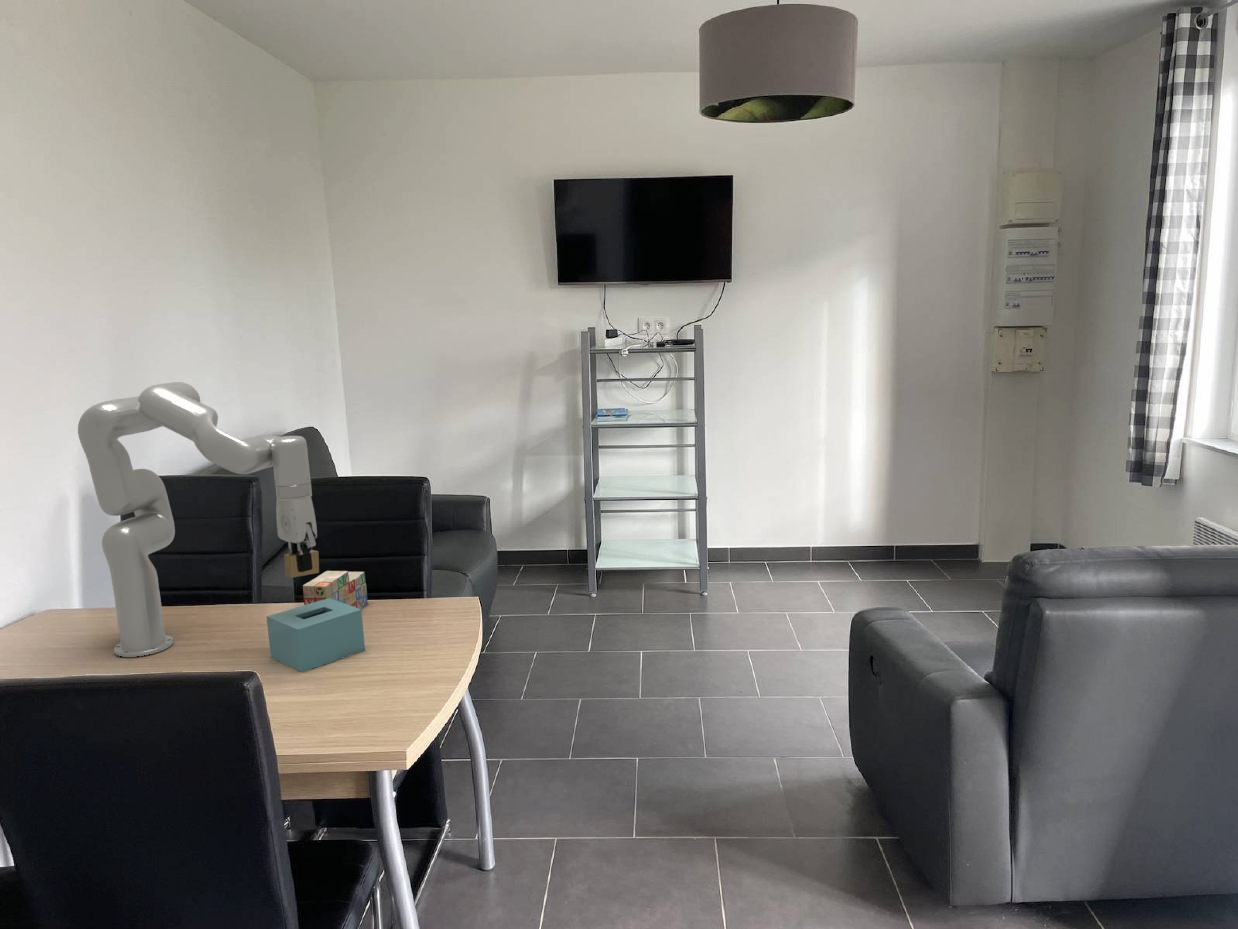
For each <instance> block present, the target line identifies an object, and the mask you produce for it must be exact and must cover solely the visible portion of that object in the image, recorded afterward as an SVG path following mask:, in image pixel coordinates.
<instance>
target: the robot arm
mask: <svg viewBox="0 0 1238 929" xmlns="http://www.w3.org/2000/svg"><path fill="white" fill-rule="evenodd" d="M218 421H219V416H218V413H217V411H216V410H215V409H214V408H212V407H210V406H208V405H206V404H204V403H202V402H201V396H200V394H199V392H198V391H197V390H196V389H195V388H194V387H193V385H190V384H189V383H187V382H183V381H174V382H166V383H158V384H154V385H151V386H148V387H147V388H145V389H144V390H143V391H141V393H140V394H139V396H138V395H137V396H132V397H131V396H130V397H125V398H118V399H112V400H110V399H109V400H105V401H102V402H98V403H96V404H93V405H92V406H91V407H89V408H88V409H86V410H85V411H84V412H83V413H82V415H81V416H80V418H79V422H78V424H77V434H78V439H79V441H80V446H81V447H82V450H83V452H84V454H85V457H86V460H87V463H88V467H89V473H90V475H91V479H92V483H93V487H94V491H95V495H96V498H97V501H98V505H99V506H100V509H101V511H102V512H104V513H105V514H106V515H108V516H112V517H116V516H117V517H118V516H123V515H124V516H125V515H127V514H130V513H134V516H133V517H130V518H127V519H125V520H121V521H119V522H116V523H114V524H112V525H111V526H110V527H108V529H106V531H105V532H104V533H103V535H102V539H101V546H102V551H103V554H104V557H105V558H106V561H107V564H108V568H109V572H110V578H111V583H112V584H111V585H112V590H113V596H114V604H115V612H116V619H117V626H118V632H119V633H118V634H119V640H120V642H119V643H118V644H116V645H115V646H114V647H113V652H114V654H117V655H119V656H118V657H120V656H122V658H137V656H139V657H143V656H144V655H145V656H149V654H150V655H152V654H157V653H159V652H162V651H164V650H167V649H168V648H170V647H171V646H172V645H173V644H174V640H173V639H174V638H173V637H172V636H171V635H170V634H166V632H165V625H164V623H165V622H164V617H163V608H162V602H161V601H162V600H161V594H160V592H161V591H160V586H159V585H160V584H159V577H158V572H157V569H156V568H155V566H154V564H153V563H152V561H151V559H150V558H149V555H151V554H152V553H156V552H157V551H160V550H162V549H165V548H166V547H168V546H169V545H170V544H171V543H172V542H173V541H174V539H175V534H176V529H175V528H176V527H175V521H174V517H173V513H172V509H171V505H170V501H169V497H168V493H167V489H166V486H165V483H164V482H163V480H162V478H161V477H160V476H159V475H158V474H157V473H156V472H154V471H153V470H151V469H147V468H136V469H134V468H133V465H132V461H131V457H130V455H129V451H128V449H126V447H125V446H124V445H123V444H122V442H120V440H118V439H119V438H121V437H123V436H130V435H135V434H139V433H145V432H150V431H153V430H155V429H158V428H161V427H164V428H166V429H167V430H170V431H172V432H174V433H176V434H178V435H179V436H182V437H184V438H186V439H188V440H190V441H191V442H193V443H194V446H195V447H196V449H197V450H198V451H199V453H200V454H201V455H202V456H203V457H204V458H205V459H206V460H208V461H209V462H212V463H213V464H215V465H216V466H219V467H221V468H222V469H225V470H227V471H229V472H232V473H234V474H238V475H248V474H252V473H256V472H258V471H261V470H265V469H268V468H272V467H273V476H274V477H273V478H274V484H275V494H276V503H275V504H276V505H275V514H276V532H277V537H278V538H279V539H280V540H283V541H285V542H286V544H287V545H288V552H289V554H290V553H297V552H298V554H299V555H297V561H298V570H299V572H304V571H308V570H311V569H312V558H311V553H312V550H313V548H314V547H315V546H316V544H317V542H316V539H317V538H318V529H317V528H318V527H317V519H316V514H315V513H316V512H315V508H314V504H313V500H312V496H313V493H312V492H313V491H312V480H311V472H310V462H309V453H308V445H307V444H308V443H307V440H306V438H305V437H304V436H301V435H284V436H279V435H271V434H260V435H255V436H252V437H247V438H244V439H238V438H236V437H234V436H232V435H230V434H227V432H226V433H225V432H224V431H222V430H221V429H219V427H217V425H218V423H219V422H218ZM117 655H116V656H117Z"/></svg>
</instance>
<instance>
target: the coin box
mask: <svg viewBox="0 0 1238 929" xmlns="http://www.w3.org/2000/svg"><path fill="white" fill-rule="evenodd" d="M362 610H363V609H359V608H356V607H353V606H350V605H347V604H344V603H342V602H339V601H336V600H333V599H330V598H328V599H324V600H321V601H317V602H314V603H310V604H307V605H300V606H298V607H293V608H291V609H286V610H284V611H280V612H277V613H273V614H271V615H270V614H269V615H267V616H266V625H267V632H268V643H269V645H268V646H269V653H270V658H271V659H273V660H275V661H277V662H279V661H280V663H281V662H282V664H284V665H285V664H287V665H286V666H287V667H290V668H292V667H293V668H292V669H293V670H296V671H298V672H300V671H301V673H304V672H307V671H310V670H313V669H316V668H319V667H321V665H322V666H324V665H323V664H325V665H327V664H330V663H333V662H335V661H338V659H339V660H341V658H342V659H344V658H348V657H349V655H350V656H352V655H351V654H353V655H355V654H358V652H359V653H361V652H364V651H366V645H365V635H364V623H363V612H362ZM363 650H364V651H363ZM343 657H344V658H343ZM332 661H333V662H332ZM329 662H330V663H329ZM315 667H316V668H315ZM312 668H313V669H312Z"/></svg>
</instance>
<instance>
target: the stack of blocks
mask: <svg viewBox="0 0 1238 929" xmlns="http://www.w3.org/2000/svg"><path fill="white" fill-rule="evenodd" d="M302 589H303V590H302V591H303V592H302V593H303V604H304V605H307V604H310V603H314V602H317V601H321V600H324V599H328V598H330V599H333V600H336V601H339V602H342V603H344V604H347V605H350V606H353V607H356V608H359V609H361V610H363V608H365V607H366V606H367V605H368V604H369V603H368V602H369V601H368V590H367V583H366V574H365V571H348V570H326V571H324V572H323V573H321V574H319V575H317V577H314V578H313V579H311V580H309V581H308V582H306V583H304V584H303V585H302ZM304 605H303V606H304Z"/></svg>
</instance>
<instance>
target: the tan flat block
mask: <svg viewBox="0 0 1238 929" xmlns="http://www.w3.org/2000/svg"><path fill="white" fill-rule="evenodd" d="M319 552H320V551H318V550H314V549H312V553H311V558H312V569H311V570H308V571H304V572H299V570H298V561H297V555H299V554H298V552H297V553H290V552H289V553H284V577H287V578H290V579H291V578H296V577H303V576H304V577H305V576H308V575H314V574H319V573H320V556H319V555H320V554H319Z"/></svg>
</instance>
